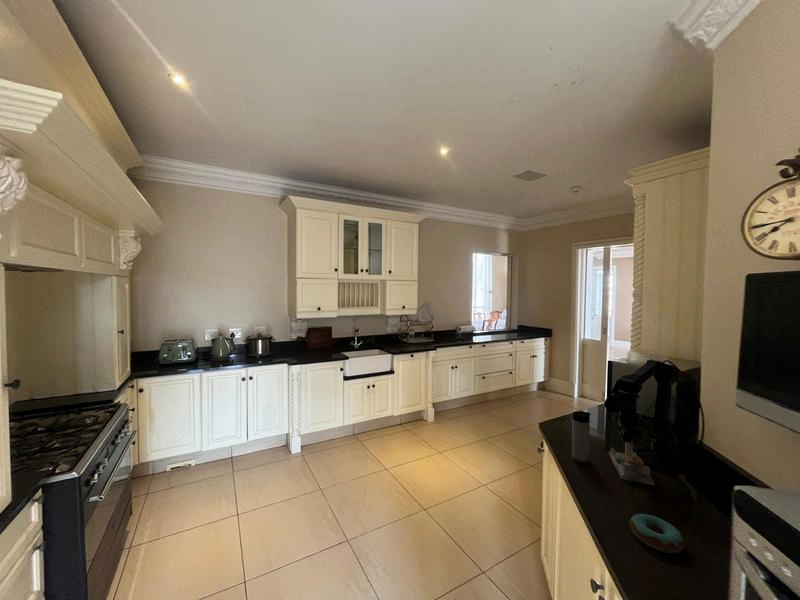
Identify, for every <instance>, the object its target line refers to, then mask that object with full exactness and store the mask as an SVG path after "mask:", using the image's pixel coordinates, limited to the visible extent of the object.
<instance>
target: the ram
mask: <svg viewBox="0 0 800 600" xmlns="http://www.w3.org/2000/svg"><path fill="white" fill-rule="evenodd" d="M633 447H634V446H633V443H632V442H625V445H624V454H626V455H632V452H633ZM618 453H619V459H620V463H621V465H622V466H623V462H624V454H623V452H618ZM632 456H634V455H632Z"/></svg>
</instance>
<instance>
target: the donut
mask: <svg viewBox="0 0 800 600" xmlns="http://www.w3.org/2000/svg"><path fill="white" fill-rule="evenodd" d="M629 528H630V529H631V532H632V533H633V534H634V536H635V538H637V539H638V540H639V541H640V542H642V543H643V544H644V545H647V546H648V547H650V548H652V549H654V550H657V551H660V552H662V553H666V554H667V553H668V554H676V553H680V552H682V551H683V549H684V547H685V540H684V537H683V535H682V534H681V532H680V531H679V530H678V529H677V528H676V527H675V526H674V525H673V524H671V523H670V522H667V521H665V520H664V519H662V518H660V517H657V516H655V515H651V514H647V513H638V514H634V515H633V516H631V517H630V520H629Z"/></svg>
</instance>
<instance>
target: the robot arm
mask: <svg viewBox="0 0 800 600" xmlns="http://www.w3.org/2000/svg"><path fill="white" fill-rule="evenodd" d="M679 376H680V369H679V368H678V367H677V366H676V365H672V364H668V363H665V362H662V361H661V360H655V359H648V360H646V362H645V363H644V364H643V365H642V366H640V367H639V368H637V369H636V370H635V371H634V372H632V373H631V374H626V375H623V376H620V377H618V379H617V380H616V382H615V383H614V386H613V388H612V390H611V392H610V393H611V394H609V395H608V396H609V397H606V398H605V400H604V401H603V406H604V408H605V409H606V410H607V411H608V412H609V413H613V417H612V420H613V421H614V422H615V423H616V422H617V421H618V422H617V423H618V425H616V427H617V429H618V433H619V435H620V438H621V440H622V443H623V445H624V446H625V442H630V443H632V442H631V441H632V440H633V439H634V440H639V441H644V434H643V433H642V431H641V430H640V429H639V428H642V429H644V430H646V431H647V434H648V438H652V440H651V441H650V450H651V451H652V453H653V454H654V455H655V456H656V457H662V458H668V459H675V458H676V457H675V456H674V446H677V444H678V442H679V438H678V436H677V435H676V434H675V432H674V426H673V423H672V422H671V421H670V411H671V400H672V388H673V386H674V384H676V382H678V380H679ZM652 377H653V378H654V380H655V382H656V384H657V385H656V393H655V394H656V395H655V406H654V414H653V417H651V418H649V419H648V416H647V415H646V414H643V413H641V414H638V413H637V410H638V409H637V407H638V405H637V404H638V400H637V399H640V398H641V396H640V395H639V394H640V392H641V391H642V389H643V384H644V383H645V382H647V381H648V380H649V379H650V378H652ZM614 413H615V414H614Z"/></svg>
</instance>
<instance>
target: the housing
mask: <svg viewBox="0 0 800 600" xmlns="http://www.w3.org/2000/svg"><path fill="white" fill-rule="evenodd" d="M637 456H638V455H637ZM637 456H632V455H626V454H625V453H624V462H625V463H631V464H636V465H642V466H645V463H644V461H643V459H642V458H641V457H640V456H638V457H637Z"/></svg>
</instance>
